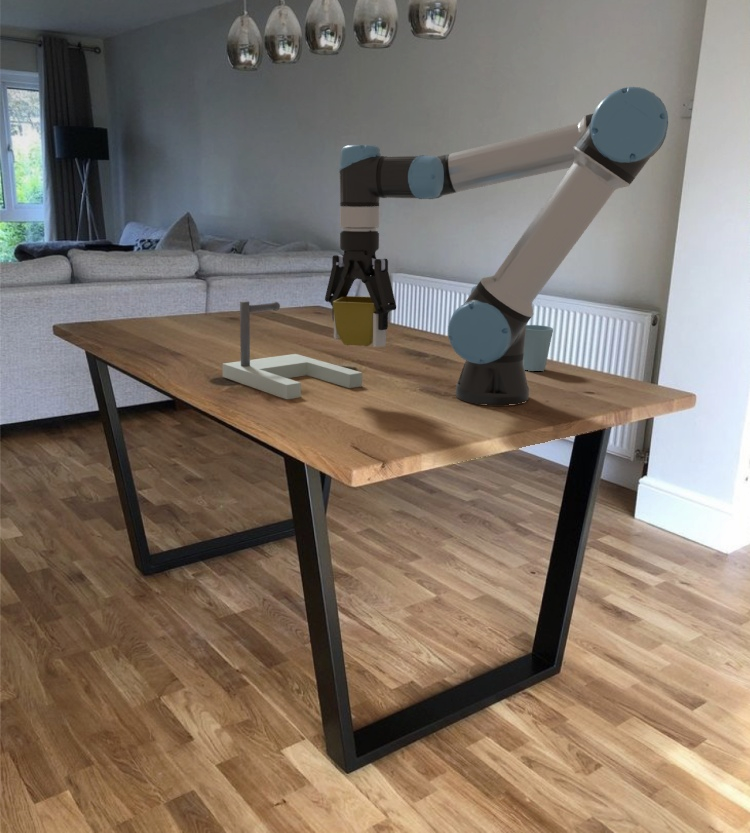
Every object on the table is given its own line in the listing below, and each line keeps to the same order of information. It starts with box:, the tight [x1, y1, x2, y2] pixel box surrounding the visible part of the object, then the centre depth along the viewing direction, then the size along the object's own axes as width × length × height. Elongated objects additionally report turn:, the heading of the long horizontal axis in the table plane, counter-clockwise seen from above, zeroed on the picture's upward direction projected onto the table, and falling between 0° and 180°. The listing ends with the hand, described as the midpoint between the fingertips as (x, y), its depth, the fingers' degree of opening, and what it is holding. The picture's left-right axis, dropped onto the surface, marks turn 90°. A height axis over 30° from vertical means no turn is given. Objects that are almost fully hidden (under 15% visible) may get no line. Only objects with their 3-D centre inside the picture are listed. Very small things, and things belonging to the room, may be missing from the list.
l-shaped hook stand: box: [222, 300, 363, 400], centre depth 173 cm, size 24×20×17 cm
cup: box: [523, 324, 554, 372], centre depth 195 cm, size 8×8×10 cm
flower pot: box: [333, 295, 376, 347], centre depth 159 cm, size 9×9×9 cm
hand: (359, 342), depth 160 cm, fingers closed on flower pot, 11 cm apart
